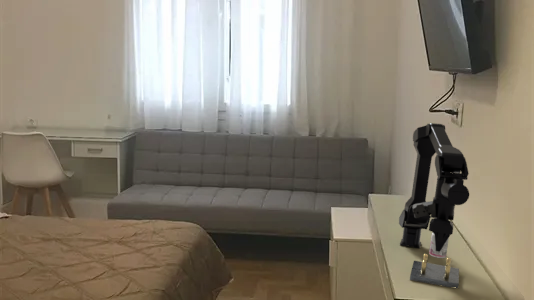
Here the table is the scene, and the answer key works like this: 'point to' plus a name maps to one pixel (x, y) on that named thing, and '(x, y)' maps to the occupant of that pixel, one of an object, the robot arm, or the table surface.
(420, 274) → the grey pegged plate
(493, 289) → the table surface
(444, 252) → the pill bottle
